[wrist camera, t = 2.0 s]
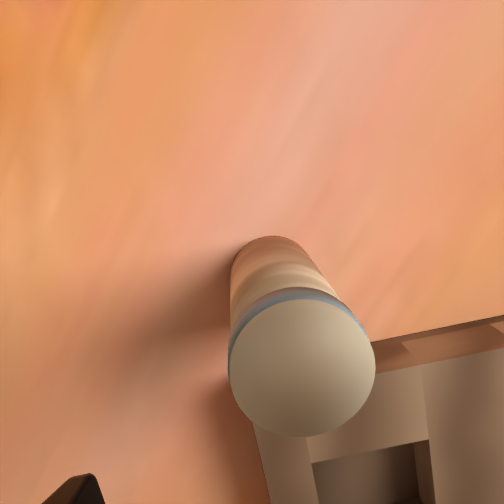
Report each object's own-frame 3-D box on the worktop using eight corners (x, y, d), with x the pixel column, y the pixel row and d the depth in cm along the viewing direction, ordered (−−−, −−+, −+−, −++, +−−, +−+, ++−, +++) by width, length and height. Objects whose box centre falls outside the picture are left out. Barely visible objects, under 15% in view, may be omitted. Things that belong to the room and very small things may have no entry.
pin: (307, 226, 18) (367, 288, 10) (320, 307, 18) (385, 422, 11) (220, 244, 18) (213, 320, 10) (238, 324, 18) (244, 452, 11)
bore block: (634, 288, 19) (693, 308, 17) (627, 501, 22) (677, 544, 19) (245, 368, 19) (247, 400, 17) (290, 569, 22) (298, 622, 20)
